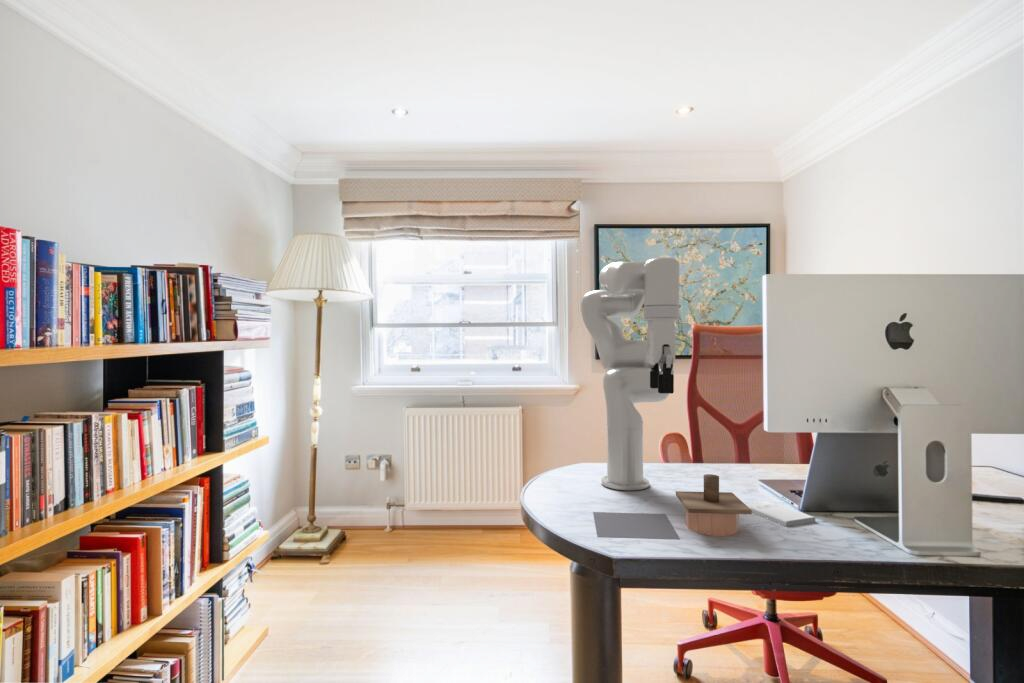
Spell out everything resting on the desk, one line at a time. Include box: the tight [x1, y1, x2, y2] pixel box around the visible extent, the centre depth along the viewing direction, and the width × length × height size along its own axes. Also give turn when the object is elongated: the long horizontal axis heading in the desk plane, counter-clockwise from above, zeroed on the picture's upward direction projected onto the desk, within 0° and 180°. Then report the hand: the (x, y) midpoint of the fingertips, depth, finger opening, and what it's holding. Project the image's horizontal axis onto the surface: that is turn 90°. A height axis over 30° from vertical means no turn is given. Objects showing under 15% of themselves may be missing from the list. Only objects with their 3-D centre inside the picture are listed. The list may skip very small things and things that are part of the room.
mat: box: [592, 511, 681, 540], centre depth 111 cm, size 15×16×1 cm
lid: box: [675, 473, 753, 515], centre depth 110 cm, size 12×12×6 cm
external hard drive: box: [744, 500, 817, 527], centre depth 118 cm, size 2×8×12 cm
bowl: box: [685, 509, 740, 537], centre depth 110 cm, size 10×10×5 cm
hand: (661, 390), depth 119 cm, fingers open, 9 cm apart
